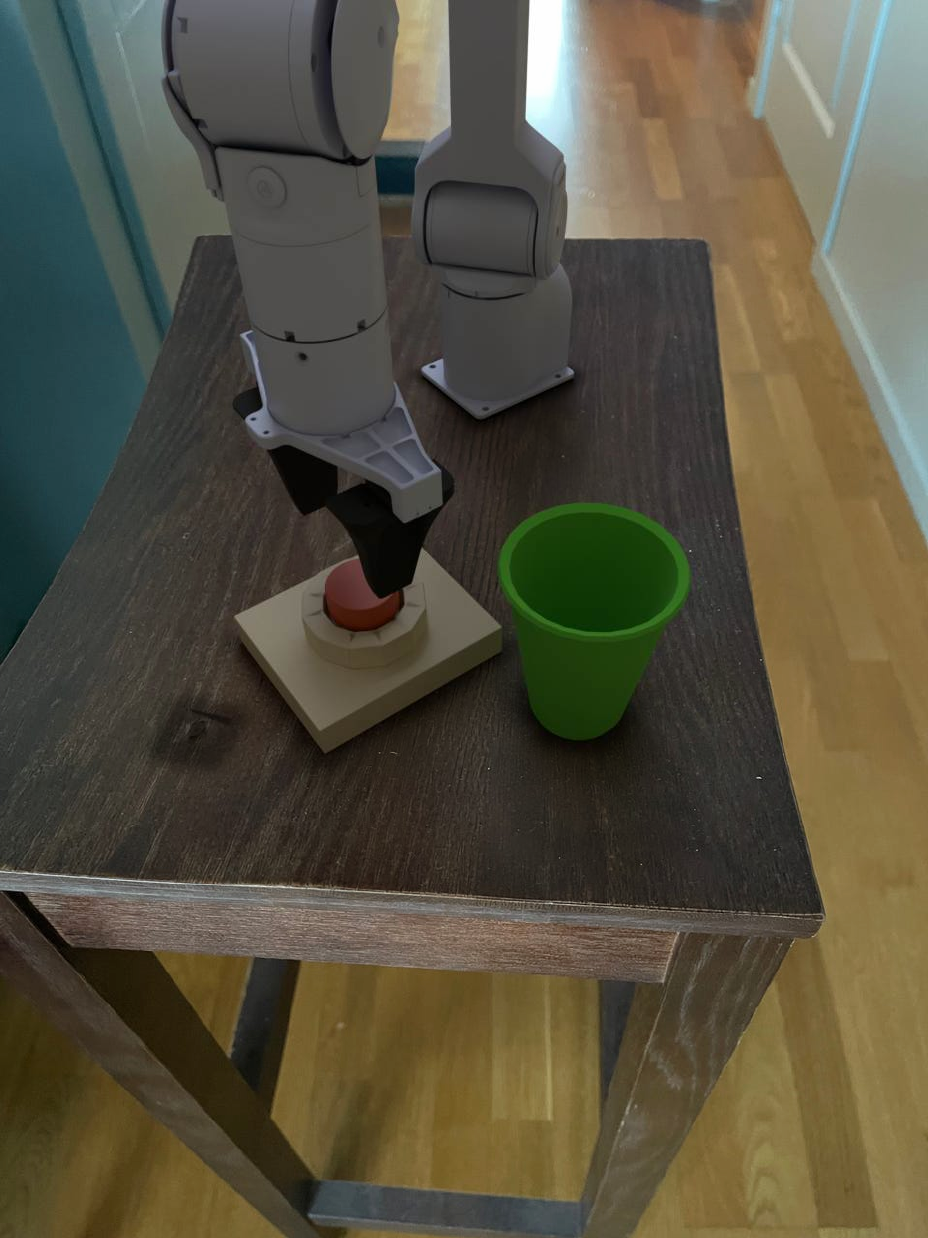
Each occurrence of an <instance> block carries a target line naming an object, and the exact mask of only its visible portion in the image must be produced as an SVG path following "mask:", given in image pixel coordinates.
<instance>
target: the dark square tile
mask: <svg viewBox="0 0 928 1238" xmlns="http://www.w3.org/2000/svg"><path fill="white" fill-rule="evenodd" d="M185 710H186V711H189V710H190V711H191V713H193V714H197V715H199V716H203V717H205V718H208V719H210V720H213V721H214V720H215V721H216V722H218V723H222V724H223V725H225V726H228V727H229V726H230V725H231V722H232V721H233V719H232V718H231V717H226V716H223V715H218V714H215V713H210V712H205V711H201V710H197V709H193V708H190V709H189V708H186V709H185ZM206 722H207V721H206V720H204V719H195V720H194V721H192V722H191V723H186V724H185V736H186V737H188V738H191V737H196V736H198V735H200V734H202V733H203V732H204V731H205V730H206V727H207V726H206V725H207V723H206Z"/></svg>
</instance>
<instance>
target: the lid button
mask: <svg viewBox="0 0 928 1238" xmlns="http://www.w3.org/2000/svg"><path fill="white" fill-rule="evenodd" d="M325 593H326V599H327V604H328V609H329V613H330V615H331V617H332V619H333V620H334V621H335V622H336V623H337V624H338V625H340V626H342V627H344V628H346V629H349V630H353V631H369V630H374V629H377V628H380V627H382V626H384V625H385V624H387V623H388V622H389V621H391V620H392V619H393V618H394V616H395V615H396V613H397V611H398V609H399V605H400V599H399V590H398V591H397V592H395V593H393V594H391V595H389V596H387V597H385V598H383V599H379V598H378V597H377V596H376V595H375V594H374V593H373V592H372V590H371V588H370V587H369V585H368V583H367V581H366V579H365V576H364V573H363V570H362V566H361V563H360V559H354V560H350V561H347V562H345V563H342V564H341V565H339V566H337V567H336V568H335V569H334V570H333V571H332V572H331V573H330V574H329V576H328V577H327V580H326V583H325Z"/></svg>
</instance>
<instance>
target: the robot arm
mask: <svg viewBox="0 0 928 1238" xmlns="http://www.w3.org/2000/svg"><path fill="white" fill-rule="evenodd" d="M530 3H531V1H530V0H447V6H448V7H447V8H448V9H447V12H448V54H449V55H448V57H449V59H448V60H449V97H450V98H449V99H450V100H449V101H450V102H449V104H450V125H449V126H448V127H447V128H444V130H442V131H441V132H440V133H438V134H437V135H436V136H435V137H433V138H432V139H430V141H429V142H428V143H426V145H425V146H424V148H423V149H422V151H421V154H420V155H419V158H418V160H417V163H416V165H415V168H414V195H413V201H412V206H411V217H410V227H411V228H410V232H411V242H412V246H413V250H414V252H415V254H416V256H417V257H418V259H419V262H421V263H422V264H423V265H424V266H428V267H431V281H432V282H437V283H439V293H440V294H439V296H440V316H441V317H440V319H441V322H440V323H441V347H442V358H441V359H438V360H436V361H434V362H430V363H428V364H427V365H423V366H422V367H421V368H420V370H421V372H420V373H421V375H422V376H423V377H424V378H425V379H427V380H428V381H429V382H430V383H432V384H433V385H434V386H436V387H437V388H438V389H439V390H440V391H442V392H443V393H444V394H445V395H447V396H448V397H449V398H450V399H451V400H453V401H454V402H455V403H456V404H458V405H459V406H460V407H461V408H463V409H464V410H465V411H466V412H467V413H469V414H470V415H471V416H473V417H474V418H475V419H477V420H484V419H486V418H489V417H490V416H493V415H495V414H497V413H500V412H501V411H504V410H506V409H508V408H510V407H512V406H514V405H517V404H519V403H521V402H523V401H525V400H528V399H530V398H533V397H534V396H536V395H539V394H541V393H543V392H545V391H547V390H550V389H552V388H555V387H557V386H558V385H560V384H563V383H565V382H567V381H569V380H572V379H573V378H574V377H575V371H574V370H573V368H570V367H569V366H568V363H569V352H570V351H569V350H570V340H571V339H570V336H571V325H572V313H573V293H572V288H571V287H572V286H571V283H570V280H569V277H568V275H567V272H566V270H565V268H564V266H563V265H562V264H561V263H560V261H561V258H562V253H563V249H564V244H565V239H566V233H567V232H566V231H567V225H568V223H567V222H568V210H569V209H568V205H569V199H568V193H567V188H566V187H567V185H566V184H567V182H566V181H567V164H566V162H565V155H564V153H563V152H562V151H561V150H560V149H559V148H558V146H556V145H555V144H554V143H552V142H551V141H550V140H549V139H547V138H546V137H545V136H544V135H543V134H541V133H540V132H539V131H538V129H536V128H534V127H533V126H532V125H531V124H530V123H529V122H528V120H527V119H526V118H527V92H528V91H527V90H528V89H527V88H528V63H529V61H528V57H529V33H530V32H529V29H530V28H529V27H530ZM399 24H400V14H399V9H398V5H397V1H396V0H164V3H163V8H162V15H161V26H160V29H161V30H160V31H161V32H160V36H161V37H160V41H161V42H160V43H161V54H162V56H161V57H162V63H163V75H161V77H160V84H161V88H162V91H163V94H164V97H165V101H166V103H167V106H168V109H169V111H170V114H171V116H172V118H173V121H174V122H175V124H176V125H177V127H178V129H179V130H180V132H181V133H182V135H183V136H184V137H185V138H186V140H188V141H189V143H190V144H191V145H192V147H193V149H194V151H195V153H196V155H197V157H198V161H199V164H200V167H201V172H202V173H201V174H202V176H203V181H204V185H205V189H206V190H210V194H211V196H212V197H213V198H216V199H217V200H218V201H219V202H223V203H224V206H225V210H226V216H227V221H228V225H229V229H230V235H231V239H232V243H233V248H234V253H235V258H236V262H237V267H238V272H239V276H240V281H241V286H242V290H243V296H244V301H245V305H246V309H247V314H248V318H249V323H250V328H251V330H248V331H246V332H243V333H240V334H239V338H240V345H241V348H242V353H243V357H244V362H245V366H246V369H247V370H248V371H249V372H250V373H251V374H252V375H254V377H256V382H255V385H256V386H254V387H252V388H250V389H247V390H244V391H242V392H240V393H238V394H237V395H236V396H235V397H234V398H233V400H232V409H233V410H234V411H235V413H237V414H238V416H239V417H240V418H242V420H244V423H245V429H246V431H247V434H248V436H249V437H250V438H251V439H252V440H253V441H254V443H256V445H258V447H260V448H261V449H263V450H266V452H267V453H268V455H269V457H270V459H271V461H272V463H273V465H274V466H275V469H276V470H277V473H278V475H279V476H280V479H281V481H282V483H283V485H284V487H285V489H286V491H287V494H288V495H289V497H290V499H291V501H292V503H293V504H294V506H295V508H296V509H297V510H298V511H299V513H300V514H301V516H303V517H305V516H308V515H311V514H312V513H314V512H317V511H318V510H321V509H323V508H326V509H327V510H328V511H329V513H331V514H332V515H333V516H334V517H335V518H336V519H337V520H338V521H339V522H340V524H341V525H342V527H344V529H345V531H346V533H347V534H348V536H349V537H350V539H351V541H352V544H353V545H354V548H355V551H356V553H357V555H358V556H359V559H360V563H361V566H362V570H363V573H364V576H365V579H366V581H367V583H368V585H369V587H370V588H371V590H372V592H373V593H374V594H375V595H376V596H377V597H378V598H379V599H383V598H385V597H387V596H389V595H391V594H393V593H395V592H397V591H398V590H400V589H402V588H404V587H406V586H408V585H410V584H412V582H413V578H414V574H415V571H416V567H417V563H418V559H419V556H420V552H421V549H422V548H423V546H424V544H425V540H426V538H427V536H428V533H429V531H430V529H431V527H432V526H433V524H434V522H435V521H436V519H437V517H438V516H439V515H440V513H441V511H442V510H443V509H444V507H445V506H446V505H447V503H448V502H449V501H450V500H451V499H452V497H453V496H454V495H455V479H454V475H452V473H451V472H450V471H449V470H448V469H447V468H446V467H444V465H442V464H441V463H440V462H439V461H438V460H437V459H435V458H432V459H431V458H430V457H429V455H428V454H427V453H426V450H425V448H424V447H423V445H422V443H421V440H420V437H419V434H418V432H417V430H416V427H415V425H414V422H413V420H412V417H411V415H410V413H409V409H408V407H407V405H406V402H405V400H404V397H403V395H402V393H401V390H400V388H399V385H398V384H397V381H396V380H395V378H394V367H393V357H392V343H391V333H390V321H389V320H390V318H389V306H388V300H387V299H388V298H387V297H388V296H387V287H386V274H385V263H384V252H383V250H384V249H383V241H382V240H383V239H382V229H381V217H380V205H379V193H378V181H377V171H376V170H377V169H376V159H375V158H376V157H375V151H376V150H377V148H378V146H379V144H380V143H381V140H382V139H383V135H384V132H385V129H386V127H387V124H388V121H389V118H390V112H391V105H392V98H393V87H394V69H395V68H394V67H395V66H394V65H395V64H394V63H395V53H396V44H397V40H398V37H399ZM339 468H340V469H343V470H345V471H347V472H349V473H352V474H354V475H356V476H358V477H361V478H363V479H364V483H363V482H361V483H359V484H357V485H353V486H352V487H350V488H348V489H345V490H344V491H341V492H339V493H338V491H339V470H338V469H339Z"/></svg>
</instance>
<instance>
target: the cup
mask: <svg viewBox="0 0 928 1238" xmlns="http://www.w3.org/2000/svg"><path fill="white" fill-rule="evenodd" d="M496 571H497V576H498V577H497V578H498V583H499V586H500V589H501V590H502V592H503V594H504V596H505V598H506V600H507V601H508V602H509V603H510V609H511V614H512V619H513V624H514V630H515V634H516V640H517V644H518V645H517V646H518V649H519V654H520V660H521V666H522V670H523V675H524V680H525V685H526V690H527V691H526V692H527V695H528V701H529V707H530V709H531V711H532V713H533V715H534V717H535V718H536V719H537V720H538V722H539V723H540V724H541V725H542V726H543V728H545V729H546V730H547V731H549V732H550V733H551V734H554V735H556V736H558V737H560V738H563V739H567V740H572V741H587V740H593V739H595V738H598V737H601V736H603V735H604V734H605V733H607V732H608V731H610V730H611V729H613V728H614V727H616V725H617V724H618V723H619V721H620V720H621V719H622V717H623V715H624V713H625V711H626V709H627V707H628V704H629V702H630V701H631V698H632V696H633V694H634V692H635V690H636V688H637V686H638V684H639V682H640V680H641V677H642V675H643V674H644V672H645V669H646V667H647V665H648V663H649V661H650V660H651V657H652V655H653V653H654V651H655V649H656V647H657V645H658V644H659V641H660V639H661V636H662V634H663V633H664V631H665V628H666V626H667V624H668V622H670V621H671V620H673V619H674V618H675V616H676V615H677V614H678V613H679V612H680V610H681V609H682V608H683V607H684V606H685V604H686V601H687V599H688V595H689V593H690V590H691V587H692V585H691V582H692V580H691V579H692V578H691V577H692V576H691V574H692V570H691V567H690V565H689V562H688V559H687V556H686V553H685V551H684V550H683V548H682V546H681V545H680V543H679V542H678V541H677V539H676V538H675V536H674V535H673V534H672V533H670V532H669V531H668V530H667V529H666V528H665V527H663V526H662V525H661V524H660V523H659V522H657V521H655V520H653V519H651V518H650V517H648V516H647V515H645V514H643V513H640V512H638V511H635V510H632V509H629V508H626V507H624V506H621V505H614V504H608V503H603V502H573V503H568V504H567V503H566V504H560V505H556V506H552V507H550V508H547V509H544V510H541V511H539V512H537V513H535V514H533V515H532V516H530V517H528V518H527V519H524V520H523V521H522V522H521V523H519V525H518V526H516V527H515V529H513V530H512V531H511V532H510V534H509V535H508V537H507V538H506V540H505V542H504V544H503V545H502V547H501V548H500V550H499V554H498V560H497V565H496Z"/></svg>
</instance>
